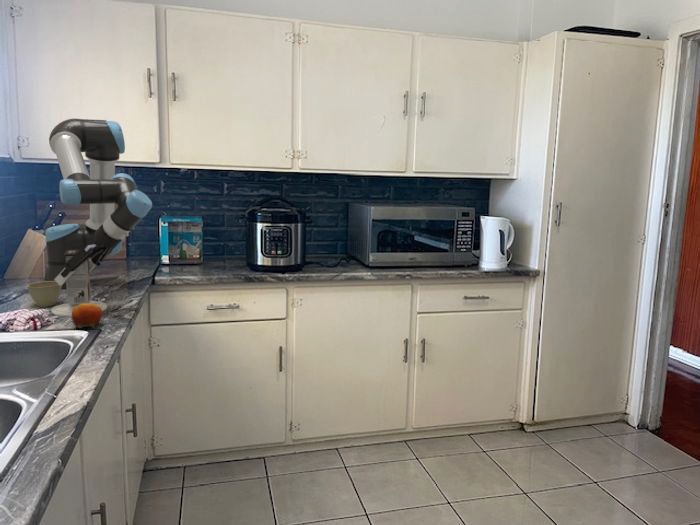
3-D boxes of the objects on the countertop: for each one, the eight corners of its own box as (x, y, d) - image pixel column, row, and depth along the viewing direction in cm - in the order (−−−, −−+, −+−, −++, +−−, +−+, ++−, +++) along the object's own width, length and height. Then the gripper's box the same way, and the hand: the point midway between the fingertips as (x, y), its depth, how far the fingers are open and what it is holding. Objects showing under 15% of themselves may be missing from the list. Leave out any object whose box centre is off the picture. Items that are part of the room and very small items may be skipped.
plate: (72, 303, 184) (71, 299, 184) (116, 305, 182) (116, 301, 182) (40, 315, 169) (39, 310, 168) (88, 317, 167) (87, 313, 166)
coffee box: (69, 298, 178) (66, 249, 175) (91, 297, 180) (88, 249, 178) (66, 305, 170) (63, 254, 167) (89, 303, 172) (86, 253, 169)
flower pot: (55, 299, 188) (54, 279, 187) (68, 304, 182) (66, 283, 181) (24, 305, 180) (22, 284, 179) (36, 310, 174) (34, 288, 173)
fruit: (70, 328, 151) (70, 300, 154) (73, 335, 158) (72, 309, 160) (102, 325, 154) (101, 298, 157) (103, 332, 161) (102, 306, 164)
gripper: (99, 245, 158) (54, 295, 163) (139, 236, 181) (98, 280, 185) (81, 226, 158) (36, 277, 163) (123, 220, 181) (82, 264, 185)
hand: (69, 278), depth 174 cm, fingers closed on coffee box, 10 cm apart
